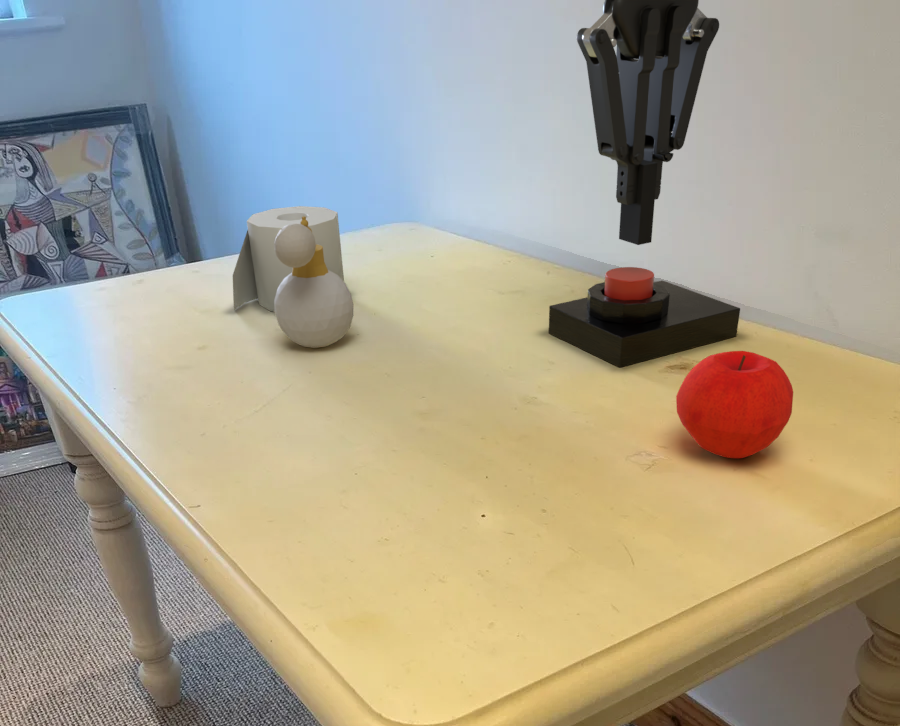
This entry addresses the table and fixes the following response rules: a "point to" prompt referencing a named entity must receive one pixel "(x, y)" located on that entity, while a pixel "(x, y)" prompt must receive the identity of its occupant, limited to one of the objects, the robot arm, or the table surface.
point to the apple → (735, 403)
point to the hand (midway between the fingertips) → (634, 240)
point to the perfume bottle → (309, 291)
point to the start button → (629, 283)
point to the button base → (642, 323)
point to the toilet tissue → (258, 259)
